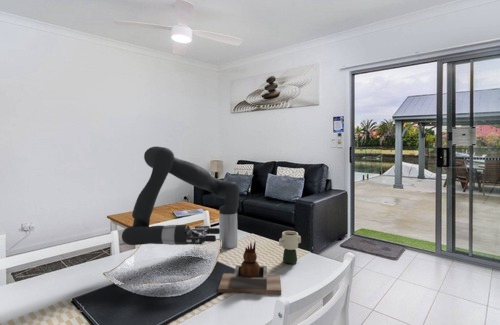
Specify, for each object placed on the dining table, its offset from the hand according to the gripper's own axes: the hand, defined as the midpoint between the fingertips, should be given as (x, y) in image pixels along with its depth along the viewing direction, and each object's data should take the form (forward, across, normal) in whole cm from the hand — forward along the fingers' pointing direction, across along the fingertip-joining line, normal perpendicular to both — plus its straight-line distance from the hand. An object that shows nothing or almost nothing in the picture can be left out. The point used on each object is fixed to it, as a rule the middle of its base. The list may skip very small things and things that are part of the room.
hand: (217, 234), depth 110 cm
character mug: (+29, +16, +18) cm, 38 cm away
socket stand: (+13, -5, +17) cm, 22 cm away
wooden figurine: (+12, -5, +16) cm, 21 cm away
